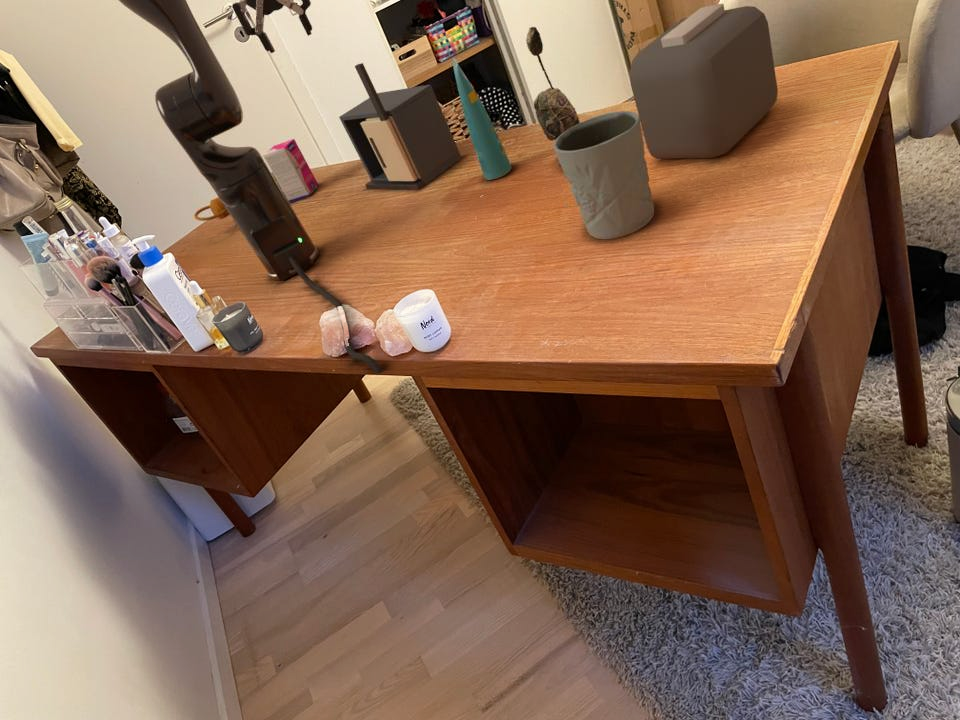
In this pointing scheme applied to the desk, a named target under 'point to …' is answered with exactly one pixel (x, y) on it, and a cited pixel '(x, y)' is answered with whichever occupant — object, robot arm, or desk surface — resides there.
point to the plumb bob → (217, 208)
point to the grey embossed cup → (608, 173)
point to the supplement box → (291, 170)
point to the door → (384, 137)
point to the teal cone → (481, 130)
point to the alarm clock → (704, 82)
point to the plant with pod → (550, 99)
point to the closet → (405, 136)
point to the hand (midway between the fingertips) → (291, 43)
